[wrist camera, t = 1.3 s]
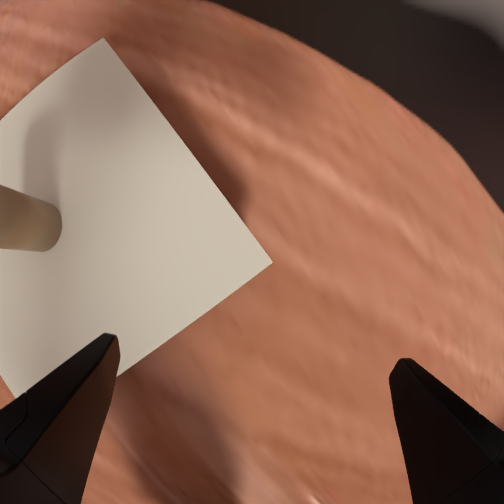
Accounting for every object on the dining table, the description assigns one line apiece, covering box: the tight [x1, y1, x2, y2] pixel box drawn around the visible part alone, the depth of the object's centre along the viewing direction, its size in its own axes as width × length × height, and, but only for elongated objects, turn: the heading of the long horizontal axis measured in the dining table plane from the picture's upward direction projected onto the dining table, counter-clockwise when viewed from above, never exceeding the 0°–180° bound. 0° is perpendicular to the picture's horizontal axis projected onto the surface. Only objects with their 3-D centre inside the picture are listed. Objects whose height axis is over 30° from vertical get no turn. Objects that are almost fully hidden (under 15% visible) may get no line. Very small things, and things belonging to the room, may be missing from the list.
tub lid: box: [0, 38, 273, 398], centre depth 15 cm, size 21×21×8 cm
